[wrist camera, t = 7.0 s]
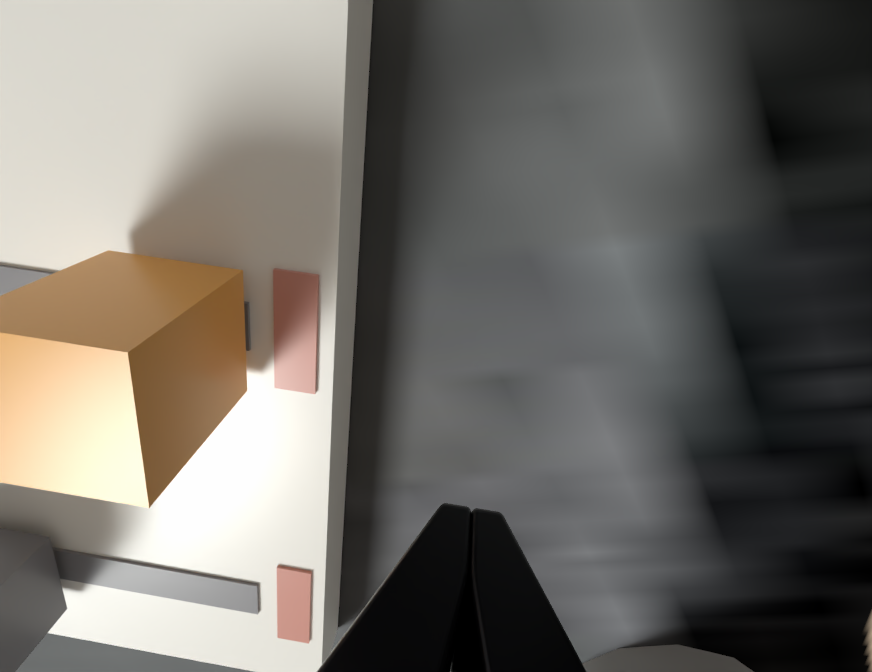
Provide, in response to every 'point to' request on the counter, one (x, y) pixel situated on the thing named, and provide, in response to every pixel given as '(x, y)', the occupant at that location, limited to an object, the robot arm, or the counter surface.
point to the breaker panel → (211, 245)
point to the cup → (663, 660)
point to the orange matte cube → (117, 373)
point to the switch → (26, 595)
